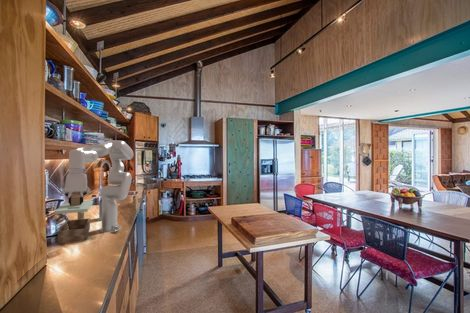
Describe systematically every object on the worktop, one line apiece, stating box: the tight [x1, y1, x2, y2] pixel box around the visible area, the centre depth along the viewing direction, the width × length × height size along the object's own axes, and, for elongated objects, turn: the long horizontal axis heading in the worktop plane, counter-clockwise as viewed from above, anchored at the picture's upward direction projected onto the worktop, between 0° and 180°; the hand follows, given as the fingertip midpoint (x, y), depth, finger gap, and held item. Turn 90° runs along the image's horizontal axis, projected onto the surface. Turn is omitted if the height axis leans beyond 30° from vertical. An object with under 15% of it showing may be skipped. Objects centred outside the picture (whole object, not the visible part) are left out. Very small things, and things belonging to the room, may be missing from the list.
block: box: [77, 212, 86, 219], centre depth 167 cm, size 4×4×14 cm
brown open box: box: [57, 217, 91, 245], centre depth 150 cm, size 14×26×8 cm, turn 28°
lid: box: [53, 195, 94, 215], centre depth 129 cm, size 14×26×6 cm, turn 26°
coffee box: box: [98, 198, 102, 221], centre depth 192 cm, size 9×6×16 cm
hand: (75, 204), depth 130 cm, fingers closed on lid, 4 cm apart
